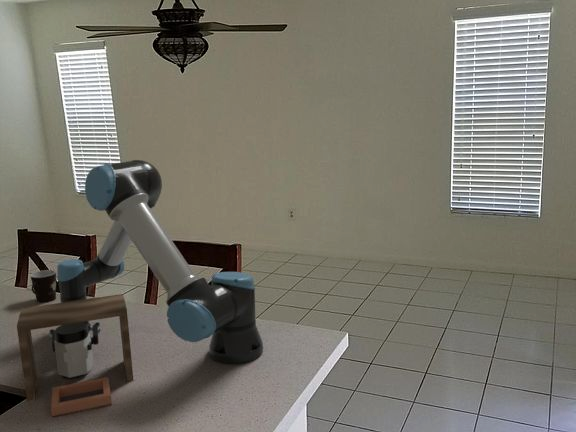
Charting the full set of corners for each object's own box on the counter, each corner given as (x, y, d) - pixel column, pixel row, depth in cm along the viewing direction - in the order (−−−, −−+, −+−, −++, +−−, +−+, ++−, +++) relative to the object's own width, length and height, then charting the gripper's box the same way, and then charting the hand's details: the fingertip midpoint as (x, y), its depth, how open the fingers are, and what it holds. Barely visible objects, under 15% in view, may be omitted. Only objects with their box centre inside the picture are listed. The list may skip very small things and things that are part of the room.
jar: (60, 381, 140) (54, 337, 137) (56, 367, 147) (51, 326, 144) (96, 372, 144) (91, 329, 142) (91, 359, 151) (86, 319, 149)
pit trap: (53, 396, 134) (52, 387, 133) (109, 385, 138) (108, 376, 138) (52, 417, 125) (51, 407, 125) (111, 404, 130) (110, 395, 129)
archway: (30, 378, 143) (21, 308, 139) (129, 360, 152) (122, 293, 148) (27, 401, 132) (16, 326, 128) (133, 380, 141) (126, 309, 137)
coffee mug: (49, 294, 206) (46, 268, 204) (64, 297, 202) (61, 271, 200) (21, 304, 197) (17, 277, 194) (35, 308, 192) (32, 281, 190)
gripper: (106, 328, 165) (112, 362, 143) (44, 338, 159) (40, 375, 137) (104, 305, 163) (109, 335, 142) (41, 314, 157) (37, 348, 136)
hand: (75, 355), depth 139 cm, fingers closed on jar, 4 cm apart
